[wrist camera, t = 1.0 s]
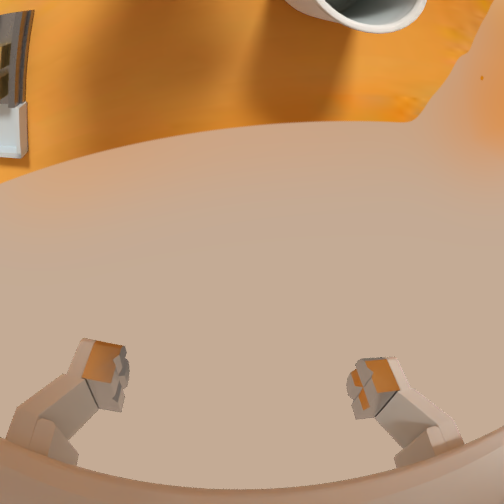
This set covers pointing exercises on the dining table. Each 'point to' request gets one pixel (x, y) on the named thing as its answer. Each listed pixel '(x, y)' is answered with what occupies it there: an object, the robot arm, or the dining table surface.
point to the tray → (13, 131)
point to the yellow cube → (4, 84)
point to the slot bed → (16, 53)
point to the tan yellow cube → (4, 54)
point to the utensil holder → (364, 13)
